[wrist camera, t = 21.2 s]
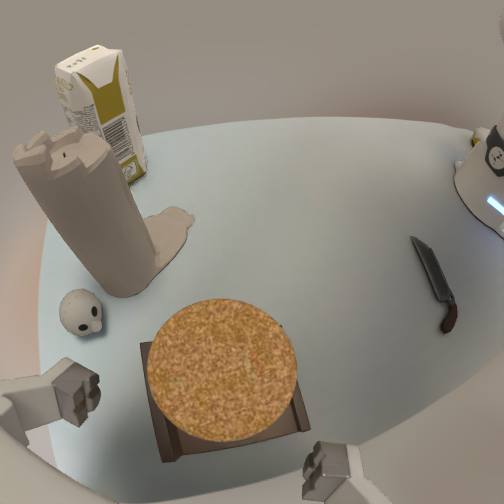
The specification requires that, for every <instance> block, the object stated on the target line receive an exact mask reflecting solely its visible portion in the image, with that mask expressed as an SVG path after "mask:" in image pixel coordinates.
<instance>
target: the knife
mask: <svg viewBox="0 0 504 504" xmlns="http://www.w3.org/2000/svg"><path fill="white" fill-rule="evenodd" d="M411 237H412V240H413V242H414V244H415V246H416V248H417V250H418V252H419V254H420V256H421V259H422V261H423V263H424V265H425V268H426V270H427V272H428V275H429V277H430V279H431V282H432V284H433V287H434V289H435V291H436V294H437V296H438V299H439V301H440V302H444V301H447V303H448V304H449V314H448V315H447V317H446V318H445V319H444V320H443V322H442V324H441V330H442V331H443V332H444V334H446V333H448V332H451V330H452V328H453V327H454V324H455V322H456V319H457V305H456V303H455V299H454V296H453V294H452V292H451V290H450V288H449V286H448V284H447V282H446V279H445V277H444V275H443V272H442V270H441V268H440V266H439V263H438V261H437V259H436V257H435V255H434V253H433V251H432V249H431V248H429V247H428V246H427V245H426V244H425V243H423V242H422V241H420V240H419V239H417V238H416V237H414V236H411ZM450 297H451V299H452V300H451V299H450Z"/></svg>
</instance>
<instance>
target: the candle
mask: <svg viewBox="0 0 504 504" xmlns="http://www.w3.org/2000/svg"><path fill="white" fill-rule="evenodd" d="M13 160H14V164H15V166H16V168H17V170H18V171H19V173H20V175H21V177H22V178H23V180H24V182H25V183H26V185H27V186H28V188H29V189H30V191H31V193H32V194H33V196H34V197H35V199H36V201H37V202H38V204H39V205H40V207H41V208H42V210H43V211H44V212H45V214H46V215H47V217H48V218H49V220H50V221H51V223H52V224H53V226H54V227H55V229H56V230H57V231H58V233H59V234H60V235H61V237H62V238H63V239H64V241H65V242H66V243H67V245H68V246H69V247H70V249H71V250H72V251H73V252H74V254H75V255H76V256H77V257H78V259H79V260H80V261H81V262H82V264H83V265H84V266H85V267H86V269H87V270H88V271H89V272H90V273H91V275H92V276H93V277H94V278H95V279H96V281H97V282H98V283H99V284H100V285H101V286H102V288H103V289H104V290H105V291H106V292H108V293H109V294H111V295H113V296H116V297H129V296H132V295H135V294H137V293H139V292H141V291H142V290H143V289H145V288H146V287H147V286H148V284H149V283H150V282H151V281H152V279H153V278H154V277H155V276H156V275H157V274H158V273H159V272H160V271H161V270H162V269H163V268H164V267H165V266H166V265H167V264H168V263H169V262H170V261H171V260H172V259H173V258H174V257H175V255H176V254H177V253H178V251H179V250H180V249H181V247H182V246H183V245H184V243H185V241H186V237H187V231H186V230H187V229H188V228H189V227H190V226H191V225H192V223H193V222H194V216H193V215H189V214H188V213H187V212H185V211H184V210H182V209H180V208H177V207H169V208H167V209H166V210H164V211H163V212H161V213H160V214H159V215H154V216H150V217H147V218H144V219H142V217H141V214H140V212H139V210H138V208H137V206H136V204H135V201H134V199H133V197H132V194H131V192H130V189H129V186H128V183H127V180H126V178H125V175H124V173H123V170H122V168H121V166H120V164H119V162H118V160H117V157H116V155H115V153H114V151H113V149H112V147H111V145H110V144H109V143H108V142H106V141H105V140H104V139H102V138H101V137H100V136H98V135H96V134H94V133H84V132H83V131H82V129H81V128H80V127H78V126H72V127H70V128H68V129H66V130H64V131H63V132H61V133H59V134H57V135H56V136H54V137H51V138H50V137H49V136H48V134H47V133H46V132H45V131H42V132H39V133H37V134H36V135H35V136H34V137H33V138H32V139H31V140H30V141H29V142H28V144H27V145H26V146H25V145H19V146H18V147H17V148H16V149H15V150H14V151H13Z"/></svg>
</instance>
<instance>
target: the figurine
mask: <svg viewBox="0 0 504 504" xmlns="http://www.w3.org/2000/svg"><path fill="white" fill-rule="evenodd" d="M59 314H60V321H61V323H62V324H63V326H64V327H65V329H66V330H67V331H68V332H70V333H72V334H74V335H78V336H80V335H87V334H90V333H91V332H99V331H100V330H101V328H102V323H101V321H100V320H101V316H102V309H101V304H100V302H99V300H98V298H97V297H96V296H95V294H94V293H92V292H90V291H87V290H85V289H77V290H72V291H71V292H69V293H67V295H66V296H65V297H64V298H63V300H62V302H61V303H60V308H59Z"/></svg>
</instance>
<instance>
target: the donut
mask: <svg viewBox="0 0 504 504" xmlns="http://www.w3.org/2000/svg"><path fill="white" fill-rule="evenodd" d="M489 132H490V130H488V129H484V128H477V129H476V131H475V132H474V134H473V142H474V145H476V144H477V142H479V141H480V142H481V141H483V142H485V141H486V138H487V136H488V135H489Z"/></svg>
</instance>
